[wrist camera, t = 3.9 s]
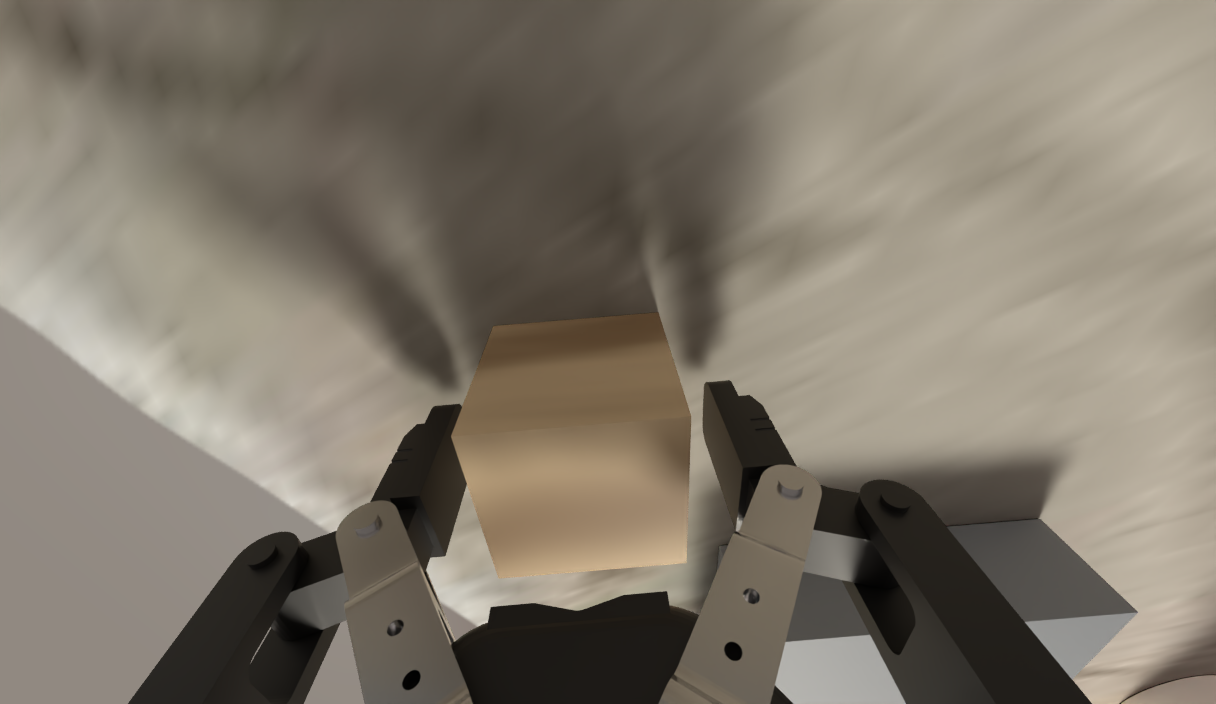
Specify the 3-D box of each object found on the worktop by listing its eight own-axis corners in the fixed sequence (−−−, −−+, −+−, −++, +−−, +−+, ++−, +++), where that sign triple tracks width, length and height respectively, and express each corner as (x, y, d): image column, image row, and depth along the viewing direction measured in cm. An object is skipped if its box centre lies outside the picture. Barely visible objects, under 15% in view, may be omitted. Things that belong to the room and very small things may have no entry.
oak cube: (493, 324, 13) (450, 436, 9) (657, 311, 13) (691, 416, 9) (522, 447, 16) (498, 578, 12) (659, 435, 16) (686, 562, 12)
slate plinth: (719, 545, 19) (748, 645, 16) (1040, 518, 19) (1138, 612, 16) (705, 693, 27) (723, 783, 23) (939, 673, 27) (991, 760, 23)
